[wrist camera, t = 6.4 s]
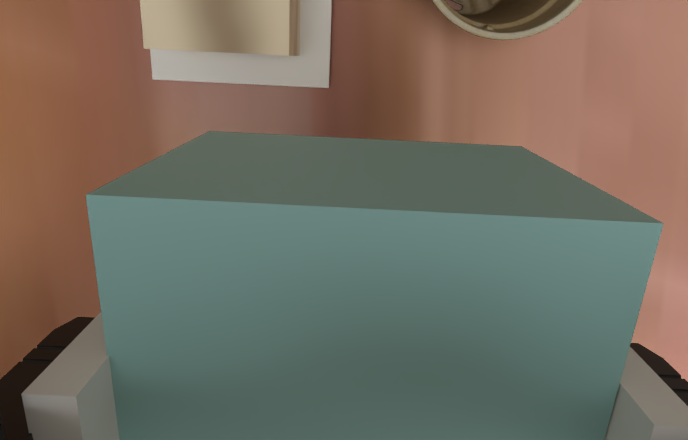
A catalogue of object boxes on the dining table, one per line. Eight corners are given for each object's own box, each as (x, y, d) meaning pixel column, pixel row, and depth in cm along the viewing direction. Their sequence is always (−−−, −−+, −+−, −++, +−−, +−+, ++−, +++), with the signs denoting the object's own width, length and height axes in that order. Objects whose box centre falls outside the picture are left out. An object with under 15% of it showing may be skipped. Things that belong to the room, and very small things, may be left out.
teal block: (220, 390, 15) (138, 595, 9) (209, 131, 12) (85, 194, 7) (479, 404, 15) (555, 618, 9) (521, 146, 12) (663, 223, 7)
